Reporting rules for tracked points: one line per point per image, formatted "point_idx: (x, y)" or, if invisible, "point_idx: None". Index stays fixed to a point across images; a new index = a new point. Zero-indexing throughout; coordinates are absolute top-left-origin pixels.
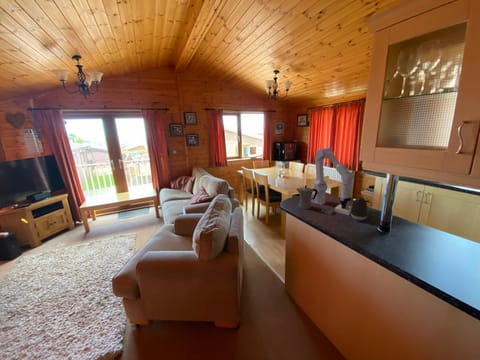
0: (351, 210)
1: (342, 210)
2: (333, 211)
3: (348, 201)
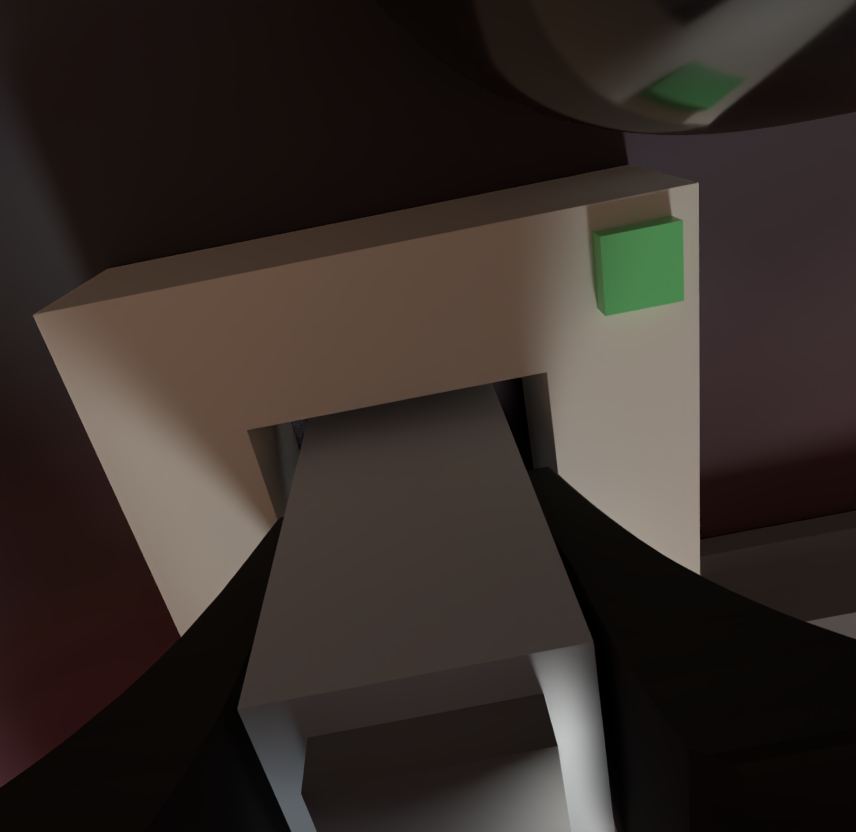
0: None
1: (691, 445)
2: (783, 586)
3: (358, 687)
